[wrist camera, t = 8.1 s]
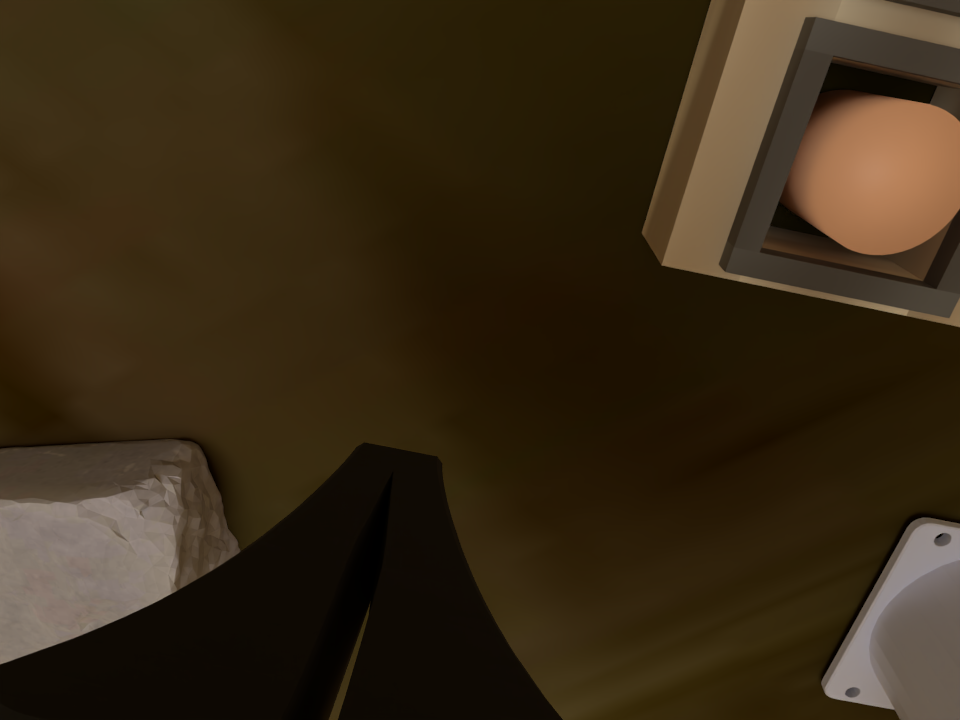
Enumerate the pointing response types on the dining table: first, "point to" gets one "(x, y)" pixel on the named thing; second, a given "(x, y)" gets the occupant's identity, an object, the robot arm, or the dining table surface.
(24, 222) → the dining table surface
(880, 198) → the peg
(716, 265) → the socket block
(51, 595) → the stone block
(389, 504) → the robot arm
